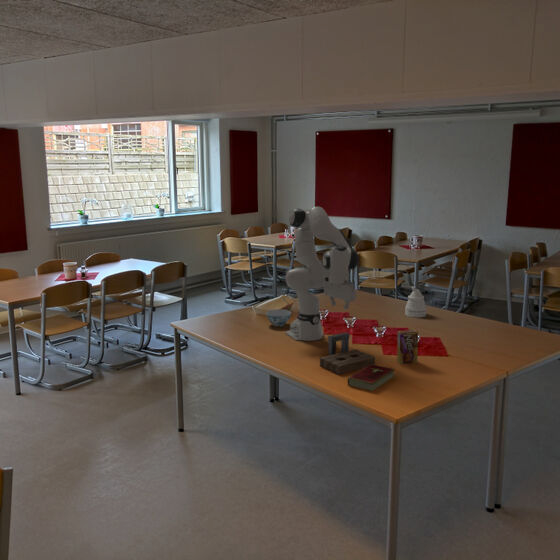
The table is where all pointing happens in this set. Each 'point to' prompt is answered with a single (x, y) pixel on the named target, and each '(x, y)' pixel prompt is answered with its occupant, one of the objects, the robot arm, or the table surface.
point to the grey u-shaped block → (338, 337)
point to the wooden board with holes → (347, 361)
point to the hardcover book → (371, 377)
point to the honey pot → (415, 304)
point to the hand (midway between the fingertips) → (339, 307)
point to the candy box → (407, 347)
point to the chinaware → (278, 317)
